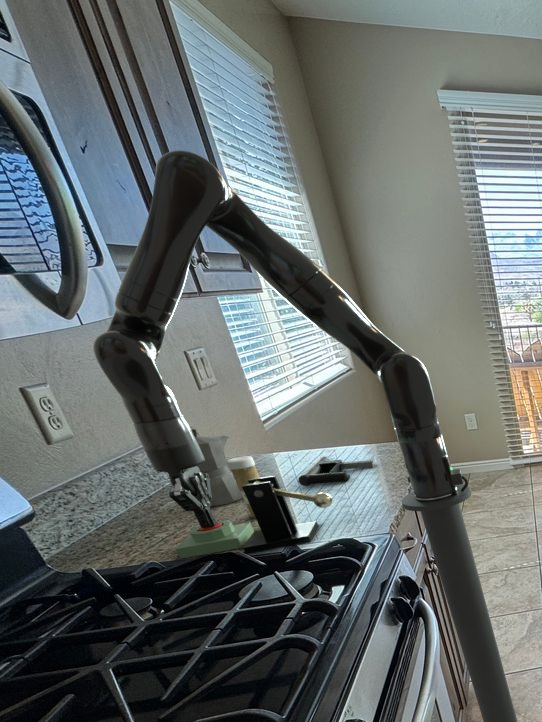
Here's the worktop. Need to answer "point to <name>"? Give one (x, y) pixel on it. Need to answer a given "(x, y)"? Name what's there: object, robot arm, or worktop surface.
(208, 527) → the red button
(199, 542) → the button box
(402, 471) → the worktop surface
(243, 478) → the sprinkles bottle
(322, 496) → the switch lever
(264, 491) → the switch bracket
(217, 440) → the coffeepot
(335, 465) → the black handled frame
